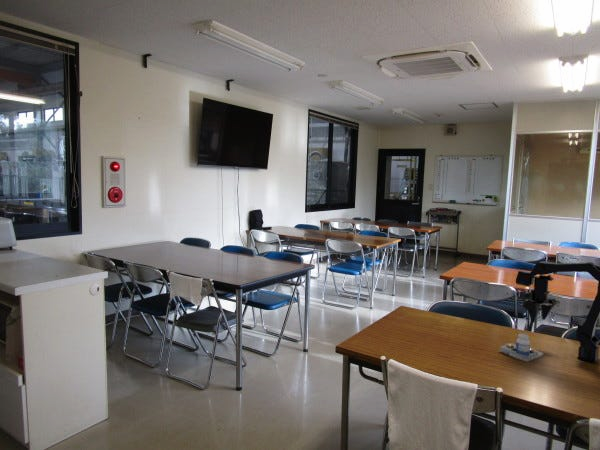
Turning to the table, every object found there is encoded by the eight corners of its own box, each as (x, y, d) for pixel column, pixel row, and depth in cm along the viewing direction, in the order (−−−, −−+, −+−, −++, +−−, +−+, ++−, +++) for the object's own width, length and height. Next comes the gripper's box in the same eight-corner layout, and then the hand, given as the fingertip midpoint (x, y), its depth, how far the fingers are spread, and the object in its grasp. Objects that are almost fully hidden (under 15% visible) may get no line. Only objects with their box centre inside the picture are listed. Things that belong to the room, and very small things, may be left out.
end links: (542, 355, 188) (543, 348, 188) (526, 361, 181) (527, 354, 181) (516, 346, 199) (516, 339, 198) (499, 351, 192) (500, 345, 191)
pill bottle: (517, 352, 191) (518, 331, 190) (530, 355, 188) (531, 334, 187) (514, 356, 187) (515, 335, 186) (527, 359, 183) (529, 338, 183)
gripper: (534, 282, 208) (532, 313, 209) (512, 286, 198) (510, 319, 200) (558, 287, 199) (555, 319, 200) (536, 292, 189) (533, 326, 190)
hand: (538, 320), depth 198 cm, fingers open, 9 cm apart
